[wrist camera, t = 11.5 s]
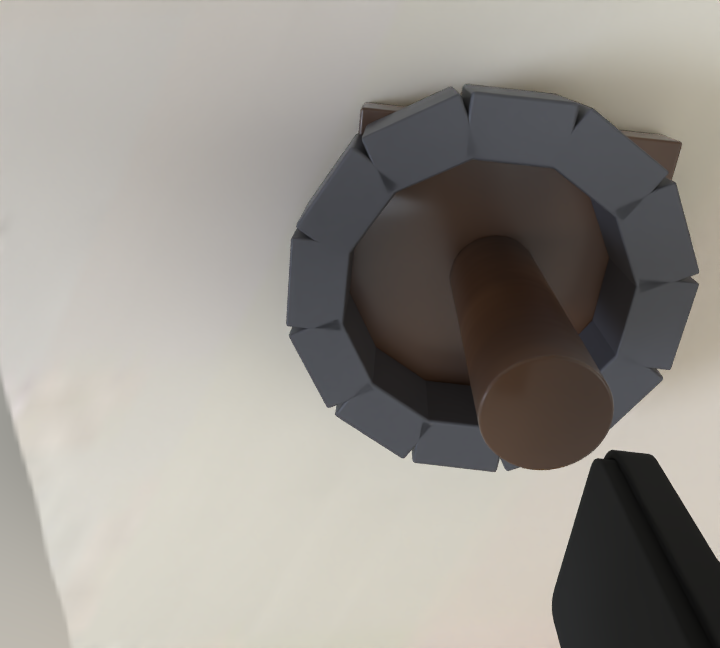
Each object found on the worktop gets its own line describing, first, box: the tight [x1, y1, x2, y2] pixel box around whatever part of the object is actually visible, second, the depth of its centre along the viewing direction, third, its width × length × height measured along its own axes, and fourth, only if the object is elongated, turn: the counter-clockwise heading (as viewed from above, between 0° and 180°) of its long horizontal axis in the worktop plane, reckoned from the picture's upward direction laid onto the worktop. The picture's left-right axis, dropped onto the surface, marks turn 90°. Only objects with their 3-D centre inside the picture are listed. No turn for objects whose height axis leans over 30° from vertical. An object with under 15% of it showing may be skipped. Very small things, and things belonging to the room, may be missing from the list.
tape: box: [286, 84, 699, 472], centre depth 19 cm, size 11×11×2 cm
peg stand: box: [350, 102, 682, 470], centre depth 17 cm, size 9×9×10 cm
